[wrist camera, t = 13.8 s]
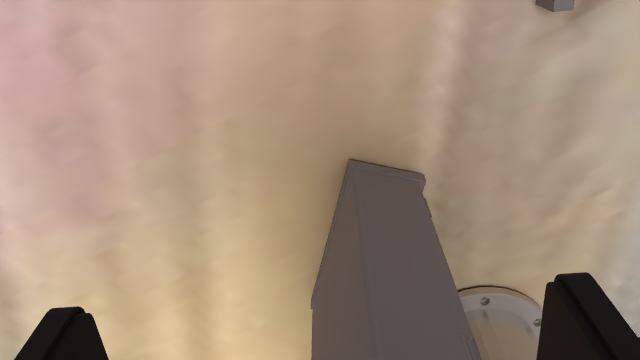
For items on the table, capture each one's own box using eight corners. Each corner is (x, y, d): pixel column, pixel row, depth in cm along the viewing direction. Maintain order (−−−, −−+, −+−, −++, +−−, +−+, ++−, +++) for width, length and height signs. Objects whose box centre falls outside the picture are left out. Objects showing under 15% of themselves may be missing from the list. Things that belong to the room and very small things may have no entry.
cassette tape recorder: (378, 310, 47) (430, 671, 24) (311, 298, 46) (301, 656, 24) (425, 173, 41) (552, 488, 18) (349, 157, 40) (383, 463, 18)
